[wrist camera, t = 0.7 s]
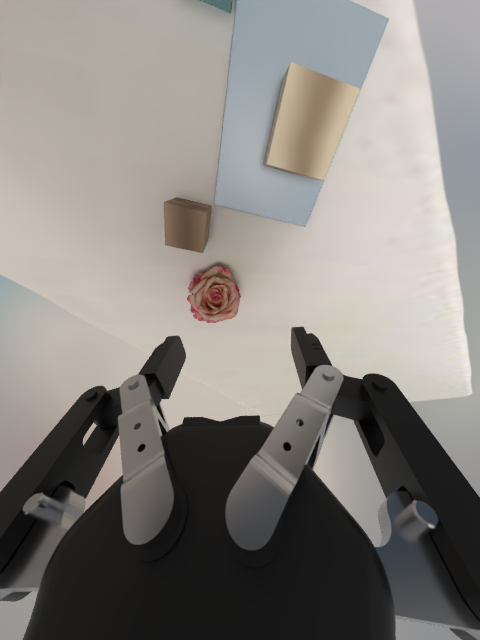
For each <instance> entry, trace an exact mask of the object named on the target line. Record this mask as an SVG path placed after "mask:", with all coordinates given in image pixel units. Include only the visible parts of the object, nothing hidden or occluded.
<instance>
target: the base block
mask: <svg viewBox="0 0 480 640" xmlns="http://www.w3.org/2000/svg"><path fill="white" fill-rule="evenodd" d="M359 92H360V89H359V88H357V87H354V86H352V85H349V84H347V83H344V82H341V81H339V80H336V79H334V78H331V77H329V76H326V75H323V74H321V73H318V72H316V71H313V70H311V69H308V68H305V67H303V66H300V65H298V64H295V63H293V62H291V63H290V65H289V67H288V69H287V71H286V73H285V75H284V77H283V79H282V82H281V87H280V91H279V96H278V100H277V105H276V109H275V113H274V118H273V122H272V127H271V131H270V136H269V140H268V145H267V149H266V153H265V158H264V162H263V165H264V166H267V167H271V168H274V169H278V170H281V171H284V172H288V173H291V174H295V175H298V176H302V177H305V178H308V179H312V180H322V181H324V179H325V177H326V174H327V172H328V169H329V167H330V164H331V162H332V159H333V157H334V154H335V152H336V149H337V147H338V144H339V142H340V139H341V137H342V134H343V132H344V129H345V127H346V124H347V122H348V119H349V117H350V114H351V112H352V109H353V107H354V104H355V102H356V99H357V97H358V94H359Z"/></svg>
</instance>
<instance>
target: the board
mask: <svg viewBox="0 0 480 640" xmlns="http://www.w3.org/2000/svg"><path fill="white" fill-rule="evenodd" d="M388 20H389V18H386V17H384V16H382V15H380V14H378V13H376V12H374V11H371V10H369V9H367V8H365V7H363V6H361V5H359V4H356V3H354V2H352V1H350V0H237V5H236V14H235V23H234V32H233V41H232V50H231V59H230V68H229V77H228V86H227V95H226V104H225V113H224V122H223V131H222V140H221V149H220V158H219V167H218V176H217V185H216V194H215V203H214V204H216V205H220V206H224V207H228V208H232V209H236V210H240V211H244V212H248V213H252V214H256V215H260V216H264V217H268V218H272V219H276V220H280V221H284V222H288V223H292V224H296V225H300V226H304V227H306V225H307V222H308V220H309V217H310V215H311V212H312V210H313V207H314V205H315V202H316V200H317V197H318V195H319V192H320V190H321V187H322V185H323V182H324V181H322V180H312V179H308V178H305V177H302V176H298V175H295V174H291V173H288V172H284V171H281V170H278V169H274V168H271V167H267V166H264V165H263V162H264V158H265V153H266V149H267V145H268V140H269V136H270V131H271V127H272V122H273V118H274V113H275V109H276V105H277V100H278V96H279V91H280V87H281V82H282V79H283V77H284V75H285V73H286V71H287V69H288V67H289V65H290V63H291V62H293V63H295V64H298V65H300V66H303V67H305V68H308V69H311V70H313V71H316V72H318V73H321V74H323V75H326V76H329V77H331V78H334V79H336V80H339V81H341V82H344V83H347V84H349V85H352V86H354V87H357V88H359V89H360V90H361V88H362V85H363V83H364V80H365V78H366V75H367V73H368V70H369V68H370V65H371V63H372V60H373V58H374V55H375V53H376V50H377V48H378V45H379V43H380V40H381V38H382V35H383V33H384V30H385V28H386V25H387V23H388ZM359 93H360V92H359ZM358 95H359V94H358ZM357 98H358V97H357ZM356 100H357V99H356ZM355 103H356V102H355ZM354 105H355V104H354ZM353 108H354V107H353ZM352 110H353V109H352ZM351 113H352V112H351ZM350 115H351V114H350ZM349 118H350V117H349ZM348 120H349V119H348ZM347 123H348V122H347ZM346 125H347V124H346ZM345 128H346V127H345ZM344 130H345V129H344ZM343 133H344V132H343ZM342 135H343V134H342ZM341 138H342V137H341ZM340 140H341V139H340ZM339 143H340V142H339ZM338 145H339V144H338ZM337 148H338V147H337ZM336 150H337V149H336ZM335 153H336V152H335ZM334 155H335V154H334ZM333 158H334V157H333ZM332 160H333V159H332ZM331 163H332V162H331ZM330 165H331V164H330ZM329 168H330V167H329ZM328 170H329V169H328ZM326 175H327V174H326ZM324 180H325V179H324Z"/></svg>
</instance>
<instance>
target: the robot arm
mask: <svg viewBox="0 0 480 640" xmlns="http://www.w3.org/2000/svg"><path fill="white" fill-rule="evenodd" d="M291 351H292V355H293V359H294V362H295V366H296V369H297V373H298V376H299V380H300V383H301V387H302V391H301V393H300V394H299V393H296V394H295V396H294V397H293V399H292V400H291V402H290V403H289V405H288V407H287V408H286V410H285V411H284V413H283V415H282V416H281V418H280V419H279V421H278V423H277V424H276V426H275V427H272V426H270V425H269V424H266V423H263V422H260V416H239V417H235V418H232V419H228V420H225V421H221V422H220V421H215V420H212V419H208V418H203V417H186V418H184V420H183V423H182V424H181V425H179V426H176V427H174V428H172V429H171V430H169V427H168V424H167V421H166V419H165V415H164V413H163V410H162V407H161V404H160V401H161V399H169V397H170V395H171V392H172V390H173V388H174V385H175V383H176V381H177V378H178V376H179V374H180V371H181V369H182V366H183V364H184V362H185V359H186V353H185V349H184V347H183V344H182V341H181V339H180V337H179V336H168V337H167V338H166V340H165V341H164V343H163V344H160V345H159V346H158V347H157V348H155V350H154V351H153V353H152V355H151V356H150V357H149V360H147V362H146V363H145V365H144V366H143V368H142V369H141V371H140V372H139V374H138V375H135V376H132V377H130V378H128V379H127V380H126V381H125V382H123V384H122V385H121V387H119V388H116V389H113V390H109V391H107V390H106V388H105V387H103V386H96V387H93V388H91V389H89V390H88V391H86V392H85V393H84V394H82V395H81V396H80V397H79V399H78V400H77V401H76V402H75V404H74V405H73V406H72V407H71V408H70V410H69V411H68V412H67V413H66V414H65V415H64V417H63V418H62V419H61V420H60V421H59V423H58V424H57V425H56V426H55V427H54V429H53V430H52V431H51V432H50V433H49V435H48V436H47V437H46V438H45V439H44V441H43V442H42V443H41V444H40V445H39V446H38V448H37V449H36V450H35V451H34V452H33V454H32V455H31V456H30V457H29V459H28V460H27V461H26V462H25V463H24V465H23V466H22V467H21V468H20V469H19V471H18V472H17V473H16V474H15V475H14V476H13V478H12V479H11V480H10V481H9V482H8V484H7V485H6V486H5V487H4V488H3V490H2V491H1V492H0V601H18V600H20V599H22V598H24V597H25V596H27V595H28V594H29V593H30V592H32V591H38V594H37V598H36V602H35V606H34V609H33V612H32V615H31V619H30V622H29V625H28V627H27V630H26V633H25V635H24V638H23V640H396V636H395V618H398V619H404V620H409V621H415V622H420V623H426V624H431V625H437V626H442V627H448V628H450V630H452V631H453V632H454V633H455V634H456V635H457V636H458V637H460V638H461V639H462V640H480V497H479V496H478V495H477V494H476V492H475V491H474V489H473V488H472V487H471V485H470V484H469V483H468V481H467V480H466V478H465V477H464V476H463V475H462V473H461V472H460V470H459V469H458V468H457V466H456V465H455V464H454V462H453V461H452V460H451V458H450V457H449V456H448V454H447V453H446V452H445V450H444V449H443V448H442V446H441V445H440V443H439V442H438V441H437V440H436V438H435V437H434V435H433V434H432V433H431V431H430V430H429V429H428V428H427V426H426V425H425V423H424V422H423V421H422V419H421V418H420V416H419V415H418V414H417V412H416V411H415V410H414V408H413V407H412V406H411V404H410V403H409V402H408V400H407V399H406V398H405V396H404V395H403V394H402V392H401V391H400V390H399V388H398V387H397V386H396V384H395V383H394V382H393V381H392V380H390V379H389V378H387V377H385V376H382V375H379V374H367V375H365V376H364V377H363V379H358V378H353V377H348V376H345V375H343V374H342V373H341V371H340V370H338V369H337V368H335V367H333V366H332V364H331V362H330V360H329V358H328V356H327V355H326V353H325V351H324V349H323V347H322V345H321V343H320V341H319V339H318V338H317V337H316V336H315V335H313V334H312V333H311V334H307V333H306V331H305V329H304V327H292V329H291ZM334 415H338V416H341V417H345V418H349V419H352V420H354V423H355V425H356V427H357V430H358V432H359V435H360V437H361V439H362V442H363V444H364V446H365V449H366V451H367V454H368V456H369V458H370V461H371V463H372V465H373V468H374V470H375V472H376V475H377V477H378V479H379V482H380V484H381V487H382V489H383V492H384V494H385V496H386V500H385V501H384V502H383V503H382V505H381V506H380V508H379V511H378V519H379V524H380V527H381V533H382V542H381V545H380V547H374V545H373V544H372V542H371V540H370V539H369V537H368V536H367V534H366V533H365V532H364V530H363V529H362V528H361V526H360V525H359V524H358V523H357V522H356V521H355V519H354V518H353V517H352V516H351V515H350V513H349V512H348V511H347V510H346V509H345V507H344V506H343V505H342V504H341V503H340V502H339V500H338V499H337V498H336V497H335V496H334V495H333V493H332V492H331V491H330V490H329V489H328V488H327V486H326V485H325V484H324V483H323V482H322V480H321V479H320V478H319V477H318V476H317V475H316V473H315V472H314V471H313V469H314V466H315V464H316V461H317V459H318V456H319V453H320V450H321V447H322V444H323V441H324V439H325V436H326V434H327V431H328V429H329V426H330V424H331V422H332V419H333V417H334ZM93 422H94V423H95V424H96V425H97V426H96V428H95V429H94V431H93V432H92V434H91V435H90V437H89V438H88V440H87V441H86V443H85V444H84V446H83V438H84V435H85V434H86V432H87V431H88V429H89V428H90V426H91V425H92V424H93ZM118 436H120V448H121V459H122V470H123V475H122V476H121V477H120V478H119V479H118V480H117V481H116V482H115V483H114V484H113V485H112V486H111V487H110V488H109V489H108V490H107V491H106V492H105V493H104V494H103V495H102V496H101V497H100V498H99V499H98V500H96V502H94V503H93V504H92V505H91V506H90V508H88V509H87V510H86V511H85V512H84V509H85V499H86V497H87V495H88V493H89V491H90V489H91V488H92V486H93V484H94V482H95V480H96V478H97V476H98V474H99V472H100V470H101V468H102V467H103V465H104V463H105V461H106V459H107V457H108V455H109V453H110V451H111V449H112V447H113V445H114V444H115V442H116V440H117V438H118ZM83 512H84V513H83Z"/></svg>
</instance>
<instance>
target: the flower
mask: <svg viewBox="0 0 480 640" xmlns="http://www.w3.org/2000/svg"><path fill="white" fill-rule="evenodd" d="M212 269H213V270H212ZM195 276H196V277H193V280H192V281H191V283H190V285H189V288H188V289H189V290H190V291H189V293H192V295H189V296H188V298H187V300H188V301H189V303H190V304H191V312H192V313H196V314H194V315H193V317H194V318H196V319H198V320H199V321H207V323H211V322H212V323H216V322H218V321H220V320H221V321H223V320H225V319H231V318H233V317H235V316H236V314H237V313H238V306H239V302H240V297H241V296H240V293H239V289H238V287H237V285H236V282H235V279H234V278H233V276H232V274H231V273H230V271H229V270H228V269H223V267H220V266H214V267H213V268H211V269H210V270H209V271H207V272H205V273H198V274H197V275H195Z"/></svg>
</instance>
